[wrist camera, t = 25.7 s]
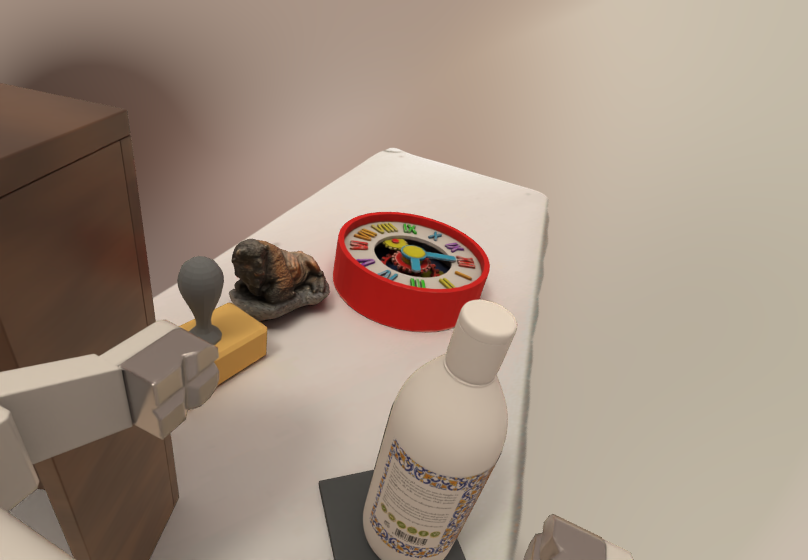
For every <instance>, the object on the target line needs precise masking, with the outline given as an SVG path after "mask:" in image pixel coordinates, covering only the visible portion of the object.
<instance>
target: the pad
mask: <svg viewBox="0 0 808 560" xmlns="http://www.w3.org/2000/svg"><path fill="white" fill-rule="evenodd" d="M373 472H374V470H370V471H366V472H361V473H356V474H351V475H346V476H342V477H337V478H332V479H327V480H322V481H319V488H320V493H321V497H322V502H323V507H324V512H325V517H326V521H327V526H328V531H329V536H330V541H331V546H332V550H333V555H334V560H381V559H380V558H379V557H378V556H377V555H376V554H375V552H374V551H373V550H372V548H371V547H370V545H369V543H368V541H367V538H366V535H365V532H364V527H363V511H364V506H365V502H366V499H367V495H368V492H369V490H368V489H369V488H370V487H369V486H370V482H371V479H372V475H373ZM443 560H466V559H465V556H464V554H463V552H462V549H461V547H460V545H459V542H458V540H457V539H456V540H455V542H454V544H453V546H452V548H451V549H450V551H449V553H448V554H447V556H446V557H445V558H444V559H443Z"/></svg>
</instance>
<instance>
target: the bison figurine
mask: <svg viewBox="0 0 808 560" xmlns="http://www.w3.org/2000/svg"><path fill="white" fill-rule="evenodd" d="M232 263H233V265H234V269H235V275H236V276H237V277H238V278H240V280H239V281H237V282H236V283H235V289H233V290H231V291H230V292H229V295H230V298H231V301H232V302H233V304H234V305H235V306H237V307H238V308H240V309H241V310H243V311H244V312H246V313H247V314H248V315H250V316H251V317H253V318H254V319H256V320H257V321H260V320H267V319H274V318H278V317H280V316H282V315H283V314H286V313H289V312H291V311H292V310H294V309H296V308H299V307H302V306H305V305H316V304H318V303H319V302H321V301H322V300H323V299H324V298H325V297H327V296H328V295H329V293H330V291H329V285H328V283H327V281H326V280H325V279H326V278H325V276H324V273H323V271H321V270H320V267H319V266H318V264H317V262H316V261H315V260H314V259H313V257H311V256H310V255H307V254H305V253H303V252H302V251H297V252H288V251H286V250H282V249H279V248H278V247H276V246H275V245H273V244H270V243H268V242H266V241H260V240H255V239H248V240H244V241H242V242H240V243H239V244H238V245H237V246H236V247H235V249H234V252H233V255H232Z"/></svg>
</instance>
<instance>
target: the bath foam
mask: <svg viewBox="0 0 808 560" xmlns="http://www.w3.org/2000/svg"><path fill="white" fill-rule="evenodd" d="M516 330H517V322H516V320H515V318H514V316H513V315H512V314H511V313H510V312H509V311H508V310H507V309H506V308H504V307H502V306H501V305H499V304H497V303H494V302H491V301H487V300H472V301H469V302H467V303H466V304H465V305H464V306H463V307H462V309H461V311H460V314H459V317H458V319H457V322H456V325H455V328H454V331H453V334H452V337H451V340H450V343H449V346H448V349H447V352H446V354H444V355H441V356H439V357H437V358H435V359H433V360H431V361H430V362H428V363H426V364H425V365H423V366H422V367H420V368H419V369H418V370H416V371H415V372H414V373H413V374H412V375H411V376H410V377H409V378H408V379H407V381H406V382H405V383H404V385H403V386H402V388H401V389H400V391H399V393H398V395H397V397H396V399H395V401H394V403H393V405H392V408H391V411H390V415H389V418H388V422H387V425H386V429H385V432H384V436H383V440H382V443H381V447H380V450H379V454H378V457H377V461H376V465H375V468H374V472H373V475H372V479H371V482H370V486H369V487H370V488H369V489H368V490H369V492H368V495H367V499H366V502H365V506H364V511H363V527H364V532H365V535H366V538H367V541H368V543H369V545H370V547H371V548H372V550H373V551H374V552H375V554H376V555H377V556H378V557H379V558H380V559H381V560H443V559H444V558H445V557H446V556H447V554H448V553H449V551H450V549H451V548H452V546H453V544H454V542H455V540H456V539H457V537H458V535H459V533H460V531H461V529H462V527H463V525H464V524H465V522H466V520H467V518H468V516H469V514H470V512H471V510H472V508H473V506H474V505H475V503H476V501H477V499H478V497H479V495H480V493H481V491H482V489H483V488H484V486H485V484H486V482H487V480H488V478H489V476H490V474H491V472H492V470H493V469H494V467H495V465H496V463H497V461H498V459H499V457H500V455H501V452H502V449H503V446H504V442H505V438H506V433H507V425H508V414H507V406H506V402H505V397H504V394H503V391H502V388H501V385H500V382H499V380H498V377H497V373H498V371H499V368H500V366H501V364H502V362H503V360H504V358H505V355H506V353H507V351H508V349H509V346H510V344H511V342H512V340H513V337H514V335H515V333H516Z"/></svg>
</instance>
